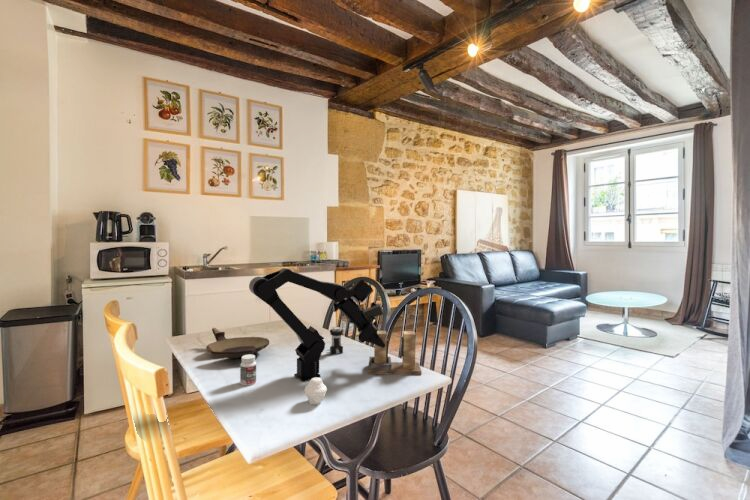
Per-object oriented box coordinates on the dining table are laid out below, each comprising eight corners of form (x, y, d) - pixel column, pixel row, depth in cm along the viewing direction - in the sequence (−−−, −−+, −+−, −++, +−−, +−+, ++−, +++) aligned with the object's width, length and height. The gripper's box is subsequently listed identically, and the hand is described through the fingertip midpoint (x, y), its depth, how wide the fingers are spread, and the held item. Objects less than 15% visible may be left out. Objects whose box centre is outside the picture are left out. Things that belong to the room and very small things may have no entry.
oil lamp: (211, 371, 119) (211, 349, 119) (201, 347, 145) (201, 328, 144) (277, 360, 131) (277, 339, 131) (256, 339, 157) (257, 322, 156)
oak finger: (374, 368, 122) (374, 333, 121) (374, 364, 126) (374, 330, 125) (387, 368, 122) (388, 334, 121) (387, 364, 126) (387, 330, 125)
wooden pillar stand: (368, 373, 120) (369, 335, 119) (368, 365, 128) (369, 329, 127) (421, 374, 120) (422, 336, 119) (418, 365, 128) (419, 329, 127)
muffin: (327, 397, 102) (328, 373, 102) (325, 407, 96) (325, 382, 96) (306, 396, 102) (306, 373, 102) (302, 407, 96) (302, 381, 96)
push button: (328, 356, 136) (329, 330, 136) (324, 352, 141) (324, 327, 141) (344, 354, 139) (345, 328, 139) (340, 349, 144) (340, 325, 144)
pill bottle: (248, 387, 108) (248, 360, 108) (236, 384, 110) (236, 357, 110) (259, 381, 112) (259, 355, 112) (248, 378, 114) (248, 353, 114)
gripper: (369, 301, 113) (403, 335, 114) (370, 291, 132) (399, 321, 133) (344, 325, 114) (378, 359, 114) (348, 312, 132) (377, 342, 133)
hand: (384, 344), depth 123 cm, fingers open, 5 cm apart
